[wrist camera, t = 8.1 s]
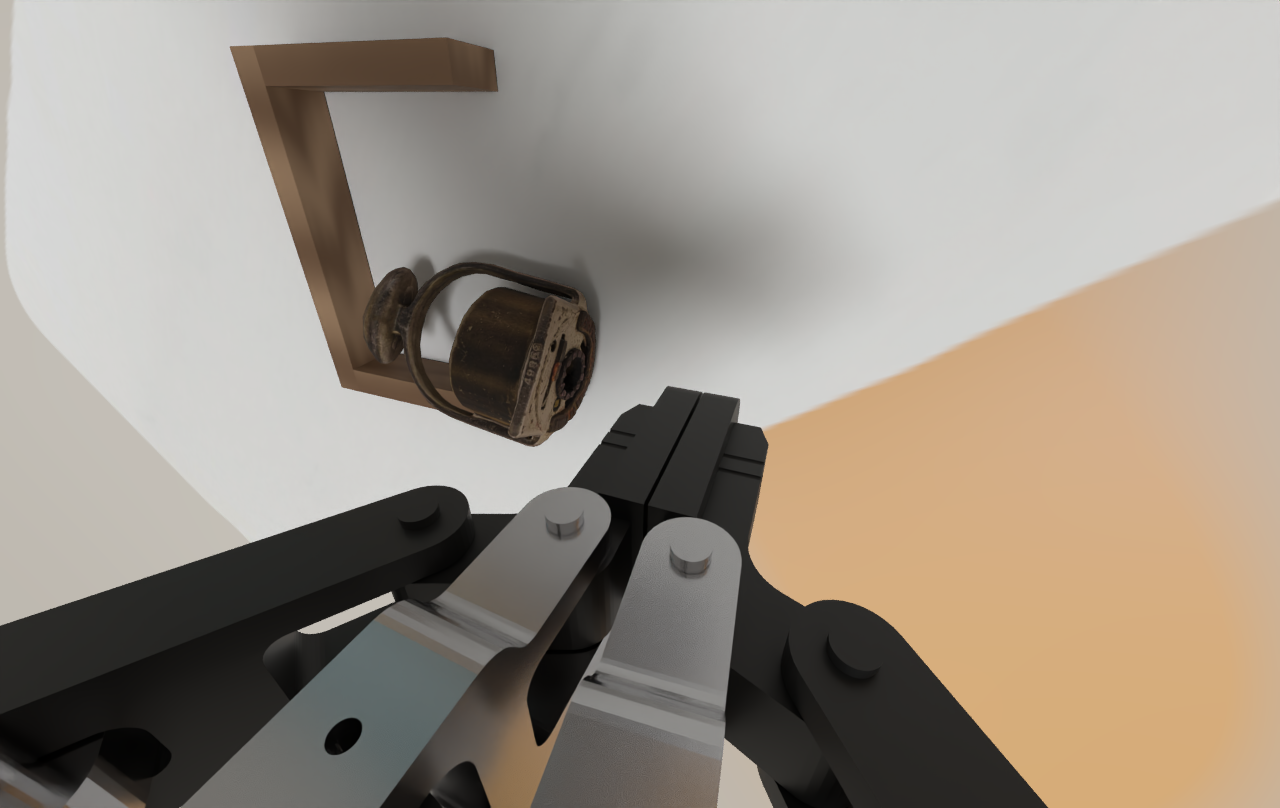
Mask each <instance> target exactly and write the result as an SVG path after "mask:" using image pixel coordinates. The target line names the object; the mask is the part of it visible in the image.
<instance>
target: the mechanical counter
mask: <svg viewBox="0 0 1280 808" xmlns="http://www.w3.org/2000/svg"><path fill="white" fill-rule="evenodd" d="M476 273H477V274H488V275H491V276H495V277H498V278H501V279H505V280H509V281H513V282H517V283H519V284H522V285H524V286H528V287H531V288H534V289H537V290H540V291H543V292H547V293H551V294H554V295H558V296H561V297H565V298H569V299H572V301H571V302H567V301H565V300H563V299H561V298H559V297H557V296H553V295H550V296H548V297H546V299H545V298H541V297H538V296H534V295H531V294H527V293H524V292H520V291H516V290H513V289H510V288H506V287H497V288H494V289H491V290H488V291H486V292H485V293H484V294H483V295H482V296H481V297H479V298H478V299H477V300H476V301H475V302H474V303H473V304H472V305H471V307H470V308H469V309H468V311H467V312H466V314H465V315H464V317H463V319H462V321H461V324H460V326H459V328H458V331H457V333H456V337H455V340H454V343H453V346H452V350H451V353H450V358H449V370H450V383H451V387H452V390H453V393H454V394H455V396H456V398H457V399H458V400H459V402H460V403H461V404H462V406H464V407H466V408H467V409H469V410H471V411H473V412H474V413H471V412H468V411H466V410H463V409H460V408H458V407H456V406H454V405H452V404H451V403H449V402H448V401H447V400H445V399H444V398H443V397H442V396H441V395H440V394H439V392H438V391H437V390H436V389H435V388H434V386H433V384H432V383H431V381H430V379H429V378H428V376H427V374H426V372H425V369H424V366H423V363H422V359H421V349H420V341H421V333H422V328H423V324H424V320H425V316H426V313H427V311H428V309H429V307H430V305H431V303H432V302H433V300H434V299H435V298H436V296H437V295H438V294H439V293H440V292H441V291H442V290H443V289H444V288H445V287H446V286H448V285H449V284H450V283H451V282H452V281H454V280H456V279H458V278H460V277H462V276H466V275H471V274H476ZM363 336H364V339H365V342H366V344H367V346H368V349H369V350H370V352H371V353H372V354H373V356H374V357H375V359H376V360H377V361H378V362H380V363H383V364H388V363H391V362H393V361H394V360H395V359H396V358H397V357H398V355H399V354H400V353H401V351H402V350H403V348H404V354H405V361H406V363H407V366H408V369H409V371H410V374H411V376H412V378H413V380H414V382H415V384H416V386H417V387H418V389H419V391H420V392H421V394H422V395H423V396H424V397H425V399H426V400H427V401H428V403H429V404H431V405H432V406H433V407H435V408H436V409H437V410H439V411H441V412H443V413H444V414H446V415H448V416H450V417H452V418H454V419H457V420H459V421H462V422H464V423H467V424H470V425H472V426H475V427H478V428H480V429H483V430H486V431H488V432H491V433H494V434H496V435H499V436H502V437H505V438H507V439H510V440H513V441H516V442H518V443H521V444H524V445H527V446H532V447H535V446H538V445H540V444H542V443H543V442H544V441H546V440H547V439H548V438H549V437H550V435H551V434H552V433H554V432H555V431H557V430H560V429H561V428H563V427H564V426H565V425H566V424H567V422H568V421H569V420H571V419H572V418H573V416H574V415H575V414H576V411H577V409H578V408H579V406H580V404H581V402H582V400H583V397H584V396H585V392H586V391H587V388H588V385H589V383H590V379H591V377H592V372H593V366H594V360H595V349H596V347H595V344H596V339H595V338H596V337H595V325H594V322H593V321H592V319H591V317H590V315H589V313H588V311H587V304H586V299H585V297H584V295H583V294H582V293H581V292H580V291H578V290H576V289H575V288H571V287H568V286H565V285H561V284H558V283H555V282H551V281H548V280H545V279H541V278H538V277H534V276H531V275H527V274H523V273H520V272H516V271H513V270H509V269H506V268H503V267H500V266H497V265H494V264H486V263H477V262H470V263H459V264H456V265H453V266H451V267H449V268H447V269H445V270H442V271H440V272H438V273H437V274H436V275H435V276H434V277H433V278H432V279H430V280H429V281H427V282H426V283H425V284H424V285H423V286H422V287H421V289H420V290H419V291H418V283H417V280H416V276H415V275H414V274H413V272H412V271H411V270H410V269H408V268H405V267H402V268H397V269H394V270H392V271H391V272H389V273H388V274H387V275H386V276H385V277H384V278H383V280H382V281H381V282H380V283H379V284H378V285H377V287H376V288H375V289H374V291H373V292H372V294H371V296H370V298H369V300H368V303H367V306H366V309H365V311H364V314H363Z"/></svg>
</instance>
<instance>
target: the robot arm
mask: <svg viewBox="0 0 1280 808" xmlns="http://www.w3.org/2000/svg"><path fill="white" fill-rule="evenodd" d="M739 407H740V399H738V398H733V397H727V396H722V395H716V394H710V393H702V392H699V391H693V390H687V389H682V388H676V387H671V386H667V387H666V389H665V390H664V392H663V393H662V395H661V396H660V398H659V399H658V401H657V402H656V404H655V406H654V407H652V406H647V405H641V404H639V405H637V406H635V407H634V408H632V409H630V410H628V411H627V412H625V413H623V414H621V416H620V417H619V418H618V420H617V421H616V422H615V424H614V425H613V426H612V428H611V429H610V432H608V433H607V434H606V436H605V437H604V439H603V440H602V442H601V444H599V445H598V447H597V448H596V449H595V451H594V452H593V453H592V455H591V456H590V457H589V459H588V460H587V462H586V463H585V464H584V466H583V467H582V468H581V470H580V471H579V472H578V474H577V475H576V476H575V478H574V479H573V480H572V482H571V483H570V485H569V486H568V487H563V488H557V489H553V490H549V491H547V492H544V493H542V494H540V495H538V496H536V497H535V498H533V499H532V500H531V501H530V502H529V503H528V504H526V505H525V507H524V508H523V509H522V510H521V511H520V512H519V513H518V514H471V512H470V508H469V504H468V501H467V498H466V497H465V495H464V494H463V493H461V492H460V491H458V490H457V489H454V488H451V487H447V486H426V487H420V488H417V489H413V490H410V491H407V492H404V493H401V494H398V495H395V496H392V497H389V498H386V499H383V500H380V501H377V502H374V503H371V504H368V505H365V506H362V507H358V508H355V509H352V510H349V511H346V512H343V513H340V514H337V515H334V516H331V517H328V518H325V519H322V520H319V521H316V522H313V523H310V524H307V525H304V526H301V527H298V528H295V529H292V530H289V531H286V532H283V533H280V534H277V535H274V536H271V537H268V538H265V539H262V540H259V541H256V542H253V543H249V544H246V545H243V546H241V547H237V548H234V549H231V550H228V551H225V552H222V553H219V554H216V555H213V556H210V557H207V558H204V559H201V560H198V561H195V562H192V563H189V564H186V565H183V566H180V567H177V568H174V569H171V570H168V571H165V572H162V573H159V574H156V575H153V576H150V577H147V578H144V579H141V580H137V581H134V582H132V583H128V584H125V585H122V586H120V587H116V588H113V589H110V590H107V591H104V592H101V593H98V594H95V595H92V596H89V597H86V598H83V599H80V600H77V601H74V602H71V603H68V604H65V605H62V606H59V607H56V608H53V609H50V610H47V611H44V612H41V613H38V614H35V615H32V616H29V617H25V618H23V619H19V620H16V621H13V622H10V623H7V624H4V625H1V626H0V808H179V807H181V806H182V807H181V808H717V801H718V800H717V799H718V792H719V782H720V773H721V765H722V755H723V746H724V738H725V739H726V740H728V741H729V742H730V743H731V744H732V745H734V746H735V747H736V748H737V749H738V750H739V751H741V752H742V753H743V754H744V755H746V756H747V757H748V758H749V759H750V760H752V761H753V762H754V763H755V764H756V765H757V768H758V772H759V775H760V778H761V781H762V783H763V786H764V788H765V790H766V792H767V794H768V797H769V799H770V801H771V803H772V805H773V808H1048V807H1047V806H1046V805H1045V804H1044V802H1043V801H1042V800H1041V799H1040V798H1039V796H1038V795H1037V794H1036V793H1035V792H1034V791H1033V789H1032V788H1031V787H1030V786H1029V785H1028V784H1027V782H1026V781H1025V780H1024V779H1023V778H1022V777H1021V776H1020V774H1019V773H1018V772H1017V771H1016V770H1015V768H1014V767H1013V766H1012V765H1011V764H1010V763H1009V761H1008V760H1007V759H1006V758H1005V757H1004V755H1003V754H1002V753H1001V752H1000V751H999V750H998V748H997V747H996V746H995V745H994V744H993V743H992V741H991V740H990V739H989V738H988V737H987V736H986V734H985V733H984V732H983V731H982V730H981V729H980V728H979V726H978V725H977V724H976V723H975V721H974V720H973V719H972V718H971V717H970V716H969V714H968V713H967V712H966V711H965V710H964V709H963V707H962V706H961V705H960V704H959V703H958V701H957V700H956V699H955V698H954V697H953V696H952V694H951V693H950V692H949V691H948V690H947V689H946V687H945V686H944V685H943V684H942V683H941V682H940V680H939V679H938V678H937V677H936V676H935V675H934V673H933V672H932V671H931V670H930V669H929V667H928V666H927V665H926V664H925V663H924V662H923V660H922V659H921V658H920V657H919V656H918V655H917V654H916V652H915V651H914V650H913V649H912V648H911V646H910V645H909V644H908V643H907V642H906V641H905V639H904V638H903V637H902V636H901V635H900V634H899V633H898V632H897V631H896V630H895V629H894V627H892V626H891V625H890V624H889V623H888V622H886V621H885V620H884V619H883V618H881V617H880V616H878V615H877V614H875V613H873V612H871V611H870V610H868V609H866V608H864V607H861V606H859V605H856V604H853V603H849V602H845V601H839V600H822V601H817V602H814V603H811V604H809V605H807V606H803V605H801V604H800V603H798V602H796V601H794V600H793V599H791V598H790V597H788V596H786V595H784V594H783V593H781V592H780V591H778V590H777V589H775V588H774V587H773V586H772V585H770V584H769V583H768V582H767V581H766V580H765V579H764V578H763V577H762V576H761V575H760V574H759V572H758V571H757V569H756V568H755V566H754V565H753V562H752V560H751V558H750V555H749V551H748V546H749V542H750V537H751V532H752V527H753V522H754V518H755V513H756V508H757V504H758V498H759V492H760V487H761V482H762V477H763V471H764V465H765V460H766V455H767V449H768V442H767V440H766V438H765V436H764V434H763V431H762V429H761V428H760V427H755V426H750V425H745V424H740V423H737V422H738V414H739ZM389 592H392V594H393V597H394V599H395V602H394V603H391V604H389V605H387V606H384V607H382V608H379V609H377V610H375V611H372V612H370V613H368V614H366V615H363V616H361V617H358V618H356V619H354V620H351V621H349V622H347V623H344V624H342V625H340V626H337V627H335V628H332V629H330V630H328V631H325V632H322V633H317V634H304V633H301V632H298V631H297V630H299V629H302V628H304V627H307V626H309V625H311V624H314V623H316V622H319V621H321V620H323V619H326V618H328V617H331V616H333V615H336V614H338V613H340V612H343V611H345V610H347V609H350V608H352V607H355V606H357V605H360V604H362V603H364V602H367V601H369V600H372V599H374V598H377V597H379V596H381V595H384V594H386V593H389Z"/></svg>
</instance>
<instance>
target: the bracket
mask: <svg viewBox="0 0 1280 808" xmlns="http://www.w3.org/2000/svg"><path fill="white" fill-rule="evenodd" d="M230 49H231V52H232V55H233V58H234V61H235V64H236V68H237V71H238V74H239V77H240V80H241V83H242V86H243V89H244V92H245V95H246V98H247V101H248V104H249V107H250V110H251V113H252V116H253V119H254V122H255V125H256V128H257V131H258V134H259V137H260V140H261V143H262V146H263V149H264V152H265V156H266V159H267V162H268V165H269V168H270V171H271V174H272V177H273V180H274V183H275V186H276V189H277V192H278V195H279V198H280V201H281V204H282V207H283V210H284V213H285V216H286V219H287V222H288V225H289V228H290V231H291V234H292V237H293V240H294V243H295V247H296V250H297V253H298V256H299V259H300V262H301V265H302V268H303V271H304V274H305V277H306V280H307V283H308V286H309V289H310V292H311V295H312V298H313V301H314V304H315V307H316V310H317V313H318V316H319V319H320V322H321V325H322V328H323V331H324V334H325V338H326V341H327V344H328V347H329V350H330V353H331V356H332V359H333V362H334V365H335V368H336V371H337V374H338V377H339V380H340V383H341V386H342V387H343V388H347V389H352V390H356V391H360V392H365V393H369V394H373V395H377V396H382V397H386V398H390V399H394V400H399V401H403V402H407V403H411V404H416V405H420V406H424V407H428V408H433V409H436V408H435V407H433V406H432V405H431V404H429V403H428V401H427V400H426V399H425V397H424V396H423V395H422V394H421V392H420V391H419V389H418V387H417V386H416V384H415V382H414V380H413V378H412V376H411V374H410V371H409V369H408V366H407V363H406V361H405V355H404V354H399V355H398V357H397V358H396V359H395V360H394V361H393V362H391V363H388V364H383V363H380V362H378V361H377V360H376V359H375V357H374V356H373V354H372V353H371V352H370V350H369V349H368V346H367V344H366V342H365V339H364V336H363V314H364V311H365V309H366V306H367V303H368V300H369V298H370V296H371V294H372V292H373V291H374V289H375V288H374V284H373V280H372V277H371V273H370V269H369V265H368V261H367V257H366V253H365V250H364V246H363V242H362V238H361V234H360V230H359V227H358V223H357V219H356V215H355V211H354V207H353V203H352V200H351V196H350V192H349V188H348V184H347V180H346V176H345V173H344V169H343V165H342V161H341V157H340V153H339V150H338V146H337V142H336V138H335V134H334V130H333V126H332V123H331V119H330V115H329V111H328V107H327V103H326V100H325V96H324V92H470V91H498V89H497V80H496V70H495V61H494V51H493V50H491V49H487V48H484V47H480V46H476V45H472V44H469V43H465V42H461V41H458V40H454V39H450V38H423V39H399V40H375V41H351V42H327V43H303V44H279V45H255V46H230ZM421 359H422V363H423V366H424V369H425V372H426V374H427V376H428V378H429V379H430V381H431V383H432V384H433V386H434V388H435V389H436V390H437V391H438V392H439V394H440V395H441V396H442V397H443V398H444V399H445V400H447V401H448V402H449V403H451V404H452V405H454V406H456V407H458V408H460V409H463V410H466V411H468V412H471V413H474V412H473V411H471V410H469V409H467V408H466V407H464V406H462V404H461V403H460V402H459V400H458V399H457V398H456V396H455V394H454V393H453V390H452V387H451V383H450V370H449V363H444V362H439V361H434V360H429V359H424V358H421Z"/></svg>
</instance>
